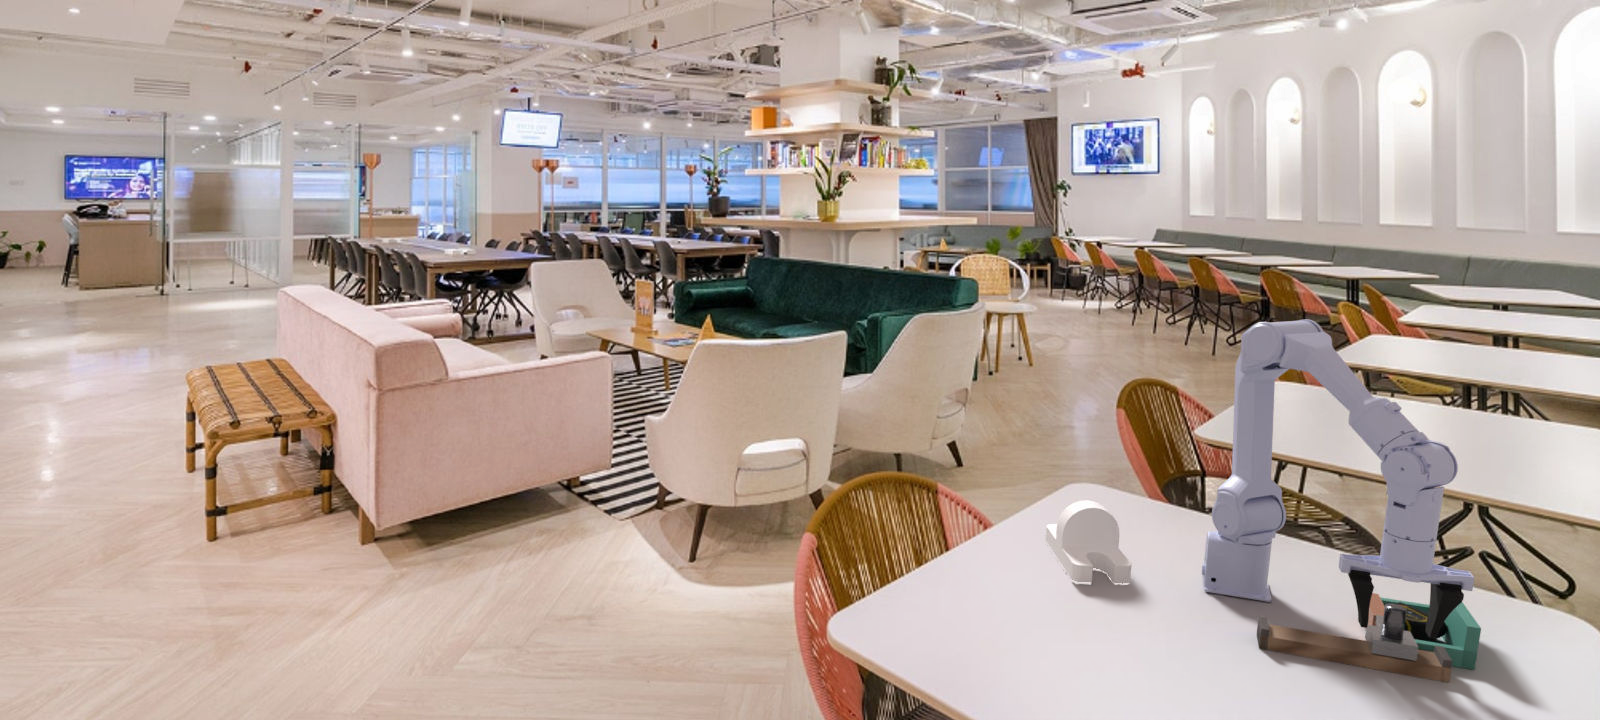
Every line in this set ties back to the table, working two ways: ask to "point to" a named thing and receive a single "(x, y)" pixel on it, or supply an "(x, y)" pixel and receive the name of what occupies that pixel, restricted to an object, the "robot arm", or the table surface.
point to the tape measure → (1419, 623)
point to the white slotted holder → (1088, 543)
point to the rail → (1351, 651)
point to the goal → (1453, 635)
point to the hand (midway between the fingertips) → (1396, 629)
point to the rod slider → (1389, 631)
